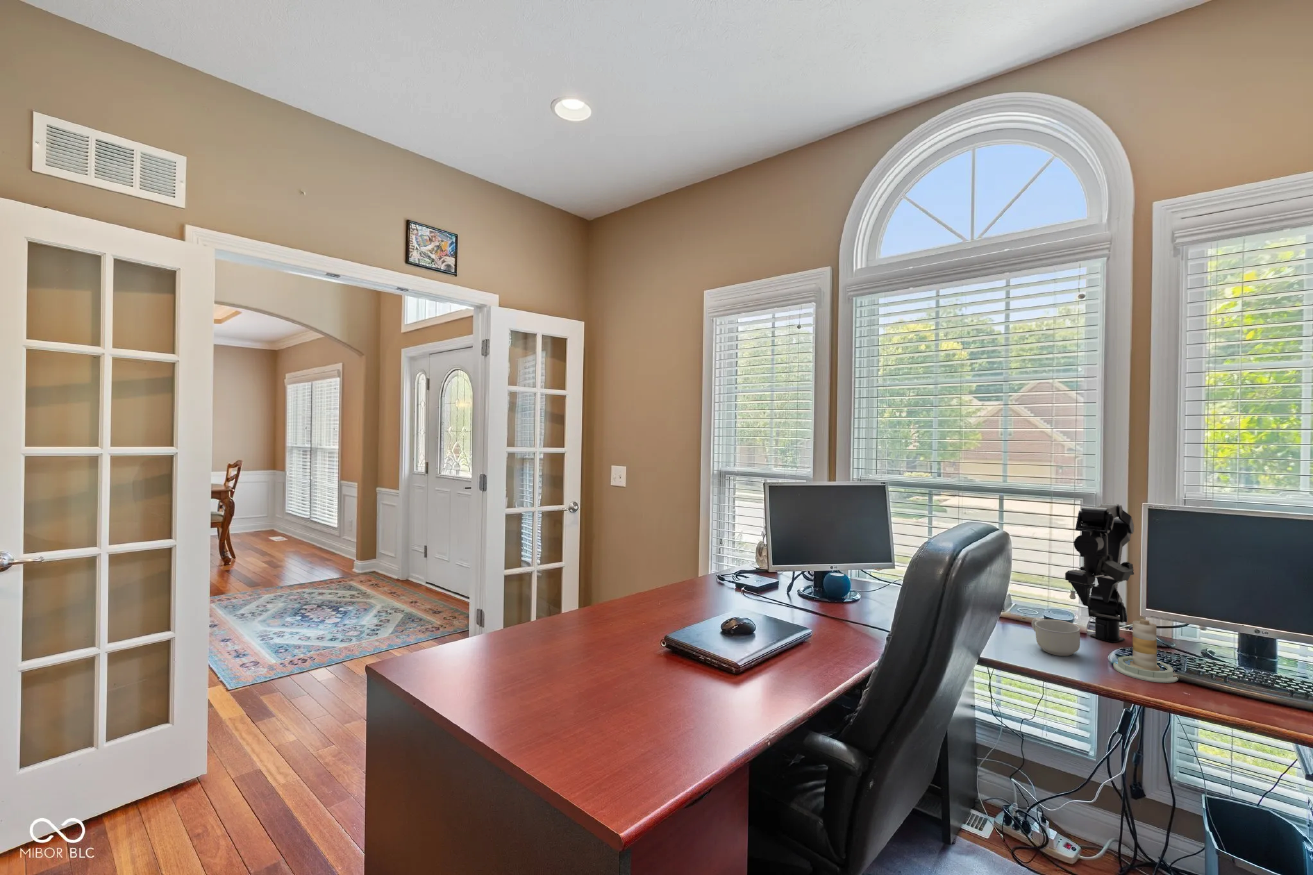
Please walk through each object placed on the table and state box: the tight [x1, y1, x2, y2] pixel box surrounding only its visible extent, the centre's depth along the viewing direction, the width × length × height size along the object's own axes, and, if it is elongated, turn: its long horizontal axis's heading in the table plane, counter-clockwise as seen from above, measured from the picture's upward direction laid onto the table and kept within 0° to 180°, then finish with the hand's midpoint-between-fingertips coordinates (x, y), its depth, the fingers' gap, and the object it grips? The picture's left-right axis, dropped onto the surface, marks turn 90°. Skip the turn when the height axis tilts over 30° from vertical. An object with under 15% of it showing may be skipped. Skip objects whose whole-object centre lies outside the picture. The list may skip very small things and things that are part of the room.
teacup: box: [1031, 617, 1081, 657], centre depth 170 cm, size 14×11×8 cm
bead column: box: [1130, 618, 1160, 671], centre depth 153 cm, size 6×6×13 cm
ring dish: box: [1113, 655, 1179, 684], centre depth 153 cm, size 13×13×2 cm
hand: (1096, 603), depth 171 cm, fingers open, 9 cm apart
